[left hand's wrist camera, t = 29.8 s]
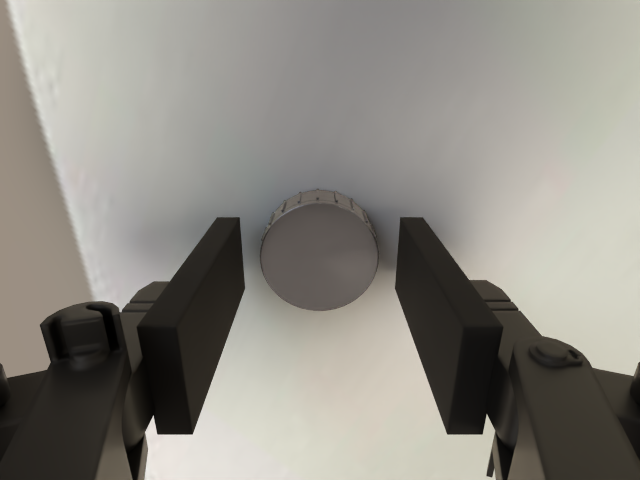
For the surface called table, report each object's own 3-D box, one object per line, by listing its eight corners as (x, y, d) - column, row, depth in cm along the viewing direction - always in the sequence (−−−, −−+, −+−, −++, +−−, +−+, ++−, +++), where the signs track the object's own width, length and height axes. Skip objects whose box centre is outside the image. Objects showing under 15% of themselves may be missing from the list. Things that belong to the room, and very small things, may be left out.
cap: (365, 179, 14) (371, 191, 13) (380, 280, 16) (387, 302, 14) (253, 199, 15) (245, 213, 13) (278, 297, 16) (273, 320, 15)
